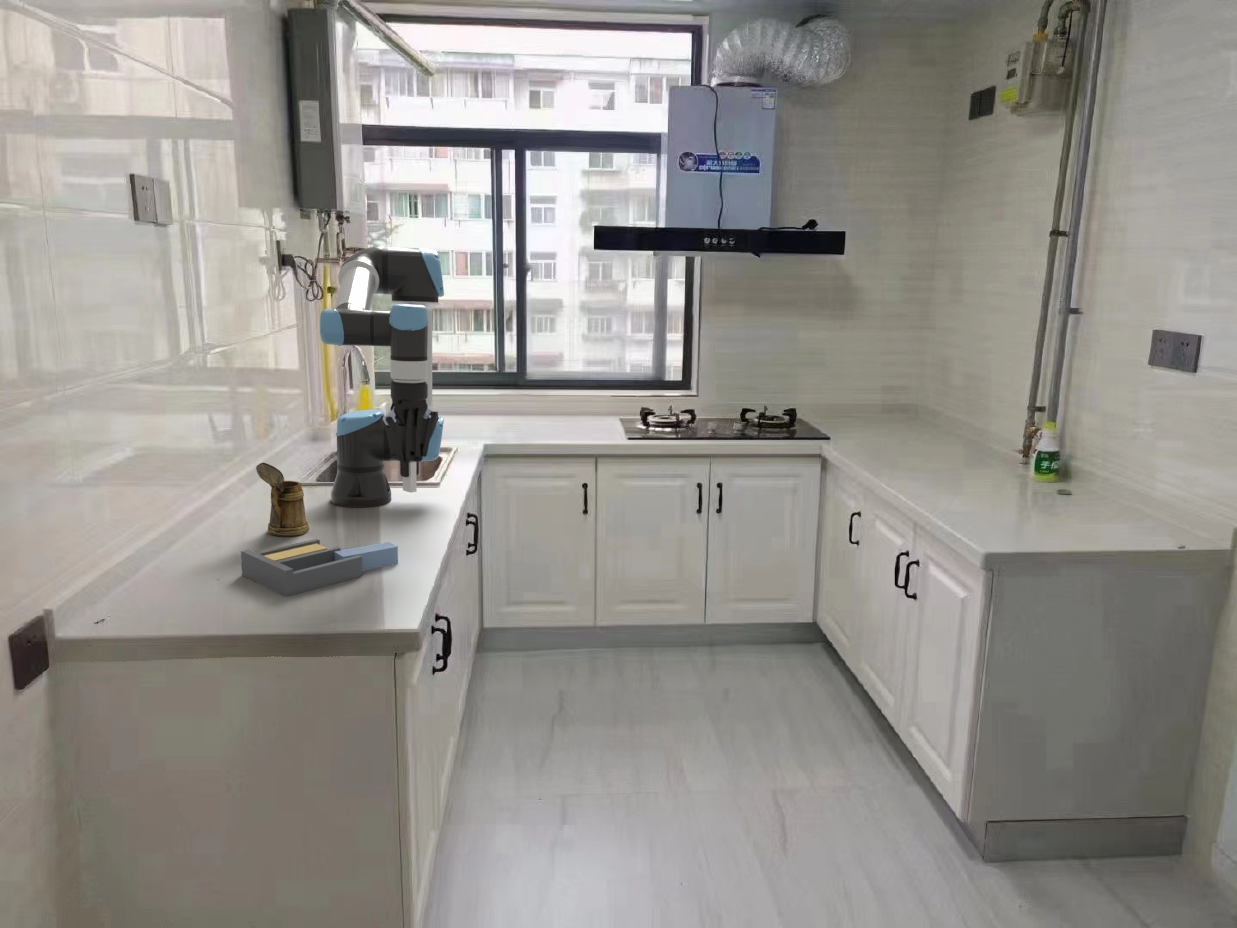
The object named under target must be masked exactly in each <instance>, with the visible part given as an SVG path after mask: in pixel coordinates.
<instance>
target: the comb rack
mask: <svg viewBox="0 0 1237 928" xmlns="http://www.w3.org/2000/svg"><path fill="white" fill-rule="evenodd" d="M312 544H319V545H321V540H320V539H318V538H314V539H309V540H305V541H304V540H303V541H301V542H295V543H291V544H287V545H283V546H278V547H274V548H269V549H266V550H264V549H263V550H261V551H257V552H256V551H254V550H251V549H249V548H247V549H243V550H241V551H240V557H241V558H240V560H241V561H240V562H241V576H243V577H245V578H246V579H250V580H251V581H253V582H255V583H257V584H260V585H261V586H263V587H265V588H267V589H270V590H272V591H274V592H275V593H279V594H280V595H283V596H284V597H290V596H294V595H297V594H301V593H304V592H307V591H310V590H311V591H312V590H314V589H318V588H323V587H325V586H329V585H333V584H337V583H340V582H343V581H344V582H345V581H348V580H351V579H355V578H358V577H362V576H363V571H362V556H359V555H357V556H353V557H349V558H345V559H341V560H337V561H335V555H334V552H335V551H341V548H340V547H339V546H335V547H330V548H327V549H325V550H321V551H317V552H313V553H309V554H304V555H300V556H296V557H292V558H288V559H284V560H279V561H274V560H272V559H270V558H267V557H265V555H269V554H273V553H278V552H282V551H286V550H291V549H295V548H299V547H304V546H308V545H312Z"/></svg>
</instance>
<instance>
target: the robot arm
mask: <svg viewBox="0 0 1237 928" xmlns="http://www.w3.org/2000/svg"><path fill="white" fill-rule="evenodd" d="M337 275H338V276H337V277H338V284H339V289H338V294H337V297H336V301H335V305H334V307H333V308H325V309H322V310H321V311H320V314H319V335H320V339H321V341H322V343H323V344H325V345H331V346H338V347H343V346H350V347H351V346H354V347H357V346H359V347H360V346H362V347H389V349H390V363H389V364H390V367H389V369H390V378H391V379H392V380H391V381H390V398H391V405H390V411H389V412H388V413H387V414H386V415H385V413H384V411H383V410H381V409H363V410H357V411H356V410H355V411H352V412H348V413H344V414H341V415H340V416H339V417H338V418H337V422H336V433H335V436H336V444H337V445H336V448H337V449H336V450H337V451H336V452H337V453H336V455H337V458H336V459H337V464H336V465H337V472H336V477H335V479H334V482H333V486H332V488H331V491H330V502H331V503H332V504H334V505H337V506H341V507H346V508H347V507H349V508H369V507H370V508H371V507H377V506H381V505H385V504H388V503H390V502H391V501H392V488H391V486H390V484H389V481H388V477H387V475H386V473H385V462H399V473H400V474H399V475H400V477H402V491H404V492H408V493H411V494H412V493H417V490H418V489H417V476H418V475H419V473H420V463H422V462H428V461H429V462H431V461H435V460H437V459H438V457H439V456H440V452H441V451H440V450H441V445H442V439H443V437H442V436H443V429H444V422H445V421H444V419H445V418H444V417H443V416H441V415H439V409H438V408H437V407H436V406H435V405H434V403H433V310H434V308H436V307H437V306H438V305H439V298H442V297H444V295H445V289H444V281H443V273H442V266H441V258H440V254H439V253H438V252H437V251H436V250H434V249H429V248H422V247H419V248H418V247H396V246H395V247H390V246H389V247H388V246H372V247H367V248H364V249H361V250H359V251H357V252H355V253H354V254H353V253H352V255H351V256H349V257H348V258H346V259H345V261H344V262H343V263H342V264H341V266H340V268H339V271H338V274H337ZM375 294H379V295H380V294H381V295H389V296H390V295H391V303H392V304H393V305H391V306H390V308H389V309H390V310H372V303H373V296H374V295H375Z"/></svg>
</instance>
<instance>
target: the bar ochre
mask: <svg viewBox="0 0 1237 928" xmlns="http://www.w3.org/2000/svg"><path fill="white" fill-rule="evenodd" d="M325 549H328V547H326V546H323V545H321V544H320V545H319V544H312V545H308V546H304V547H299V548H295V549H291V550H286V551H282V552H278V553H273V554H269V555H265V557H267V558H270V559H272V560H274V561H279V560H284V559H288V558H292V557H296V556H300V555H304V554H309V553H313V552H317V551H321V550H325Z"/></svg>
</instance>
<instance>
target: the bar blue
mask: <svg viewBox="0 0 1237 928" xmlns="http://www.w3.org/2000/svg"><path fill="white" fill-rule="evenodd" d="M398 547H399V546H397V545H395V544H393V543H392V542H390V541H386V542H379V543H375V544H369V545H363V546H358V547H354V548H353V547H351V548H347V549H340V551H335V552H334V555H335V561H337V560H341V559H345V558H349V557H353V556H357V555H359V556H362V572H364V571H368V570H375V569H378V568H384V567H387V566H388V567H389V566H393V565H392V564H394V565H397V564H399V549H398ZM363 570H364V571H363Z"/></svg>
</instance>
